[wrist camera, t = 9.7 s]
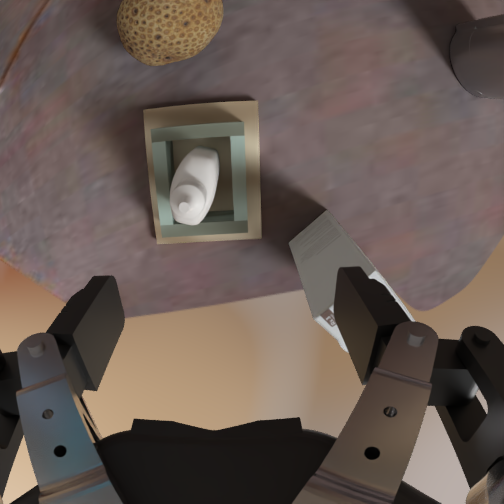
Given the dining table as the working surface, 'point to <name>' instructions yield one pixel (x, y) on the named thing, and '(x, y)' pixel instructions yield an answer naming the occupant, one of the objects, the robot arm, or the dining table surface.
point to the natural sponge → (167, 28)
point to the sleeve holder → (230, 176)
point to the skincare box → (329, 268)
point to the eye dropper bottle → (194, 185)
